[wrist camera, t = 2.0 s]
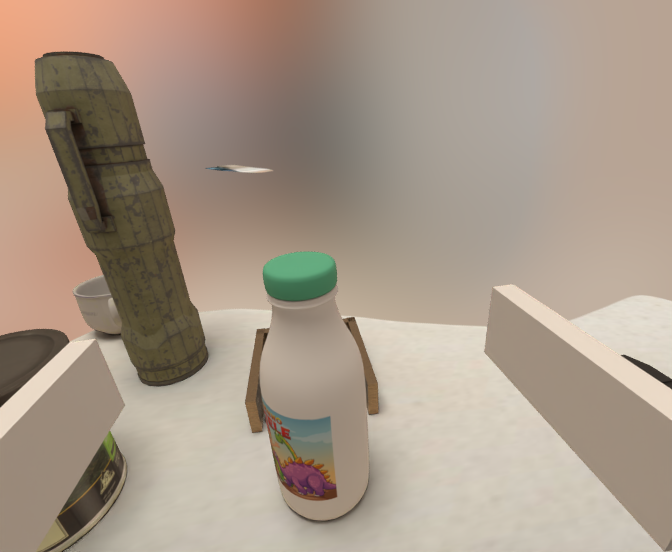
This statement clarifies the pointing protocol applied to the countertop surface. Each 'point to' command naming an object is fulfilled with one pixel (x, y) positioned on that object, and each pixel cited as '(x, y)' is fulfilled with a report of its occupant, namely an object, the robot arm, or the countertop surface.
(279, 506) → the countertop surface
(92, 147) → the thermos
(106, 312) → the teacup
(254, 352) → the dustpan
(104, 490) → the coffee can
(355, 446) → the milk bottle
